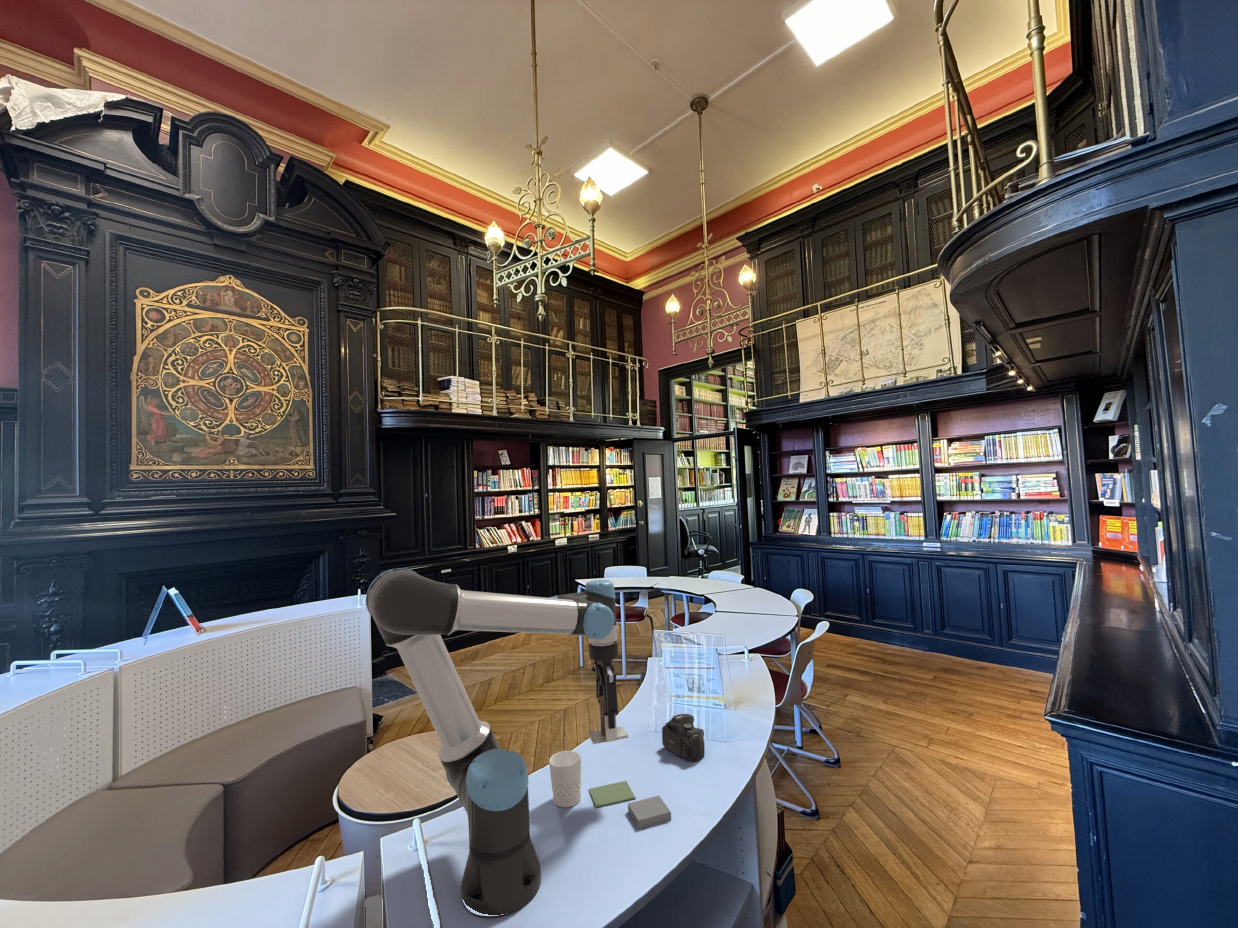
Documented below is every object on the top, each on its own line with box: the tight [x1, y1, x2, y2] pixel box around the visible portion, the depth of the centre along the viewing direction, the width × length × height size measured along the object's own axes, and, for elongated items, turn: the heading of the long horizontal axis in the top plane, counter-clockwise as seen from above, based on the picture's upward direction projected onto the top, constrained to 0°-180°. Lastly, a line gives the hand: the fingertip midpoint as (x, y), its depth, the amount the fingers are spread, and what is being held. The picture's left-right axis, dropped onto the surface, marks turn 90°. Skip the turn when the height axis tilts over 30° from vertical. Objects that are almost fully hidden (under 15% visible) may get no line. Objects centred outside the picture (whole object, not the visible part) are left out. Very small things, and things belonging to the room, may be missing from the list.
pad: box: [588, 780, 636, 809], centre depth 128 cm, size 10×8×1 cm
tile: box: [627, 795, 672, 830], centre depth 118 cm, size 8×2×7 cm
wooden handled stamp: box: [587, 695, 629, 745], centre depth 129 cm, size 9×6×10 cm, turn 105°
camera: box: [661, 713, 705, 762], centre depth 148 cm, size 13×10×10 cm
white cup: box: [548, 750, 582, 809], centre depth 127 cm, size 8×8×10 cm
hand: (608, 734), depth 129 cm, fingers closed on wooden handled stamp, 5 cm apart
